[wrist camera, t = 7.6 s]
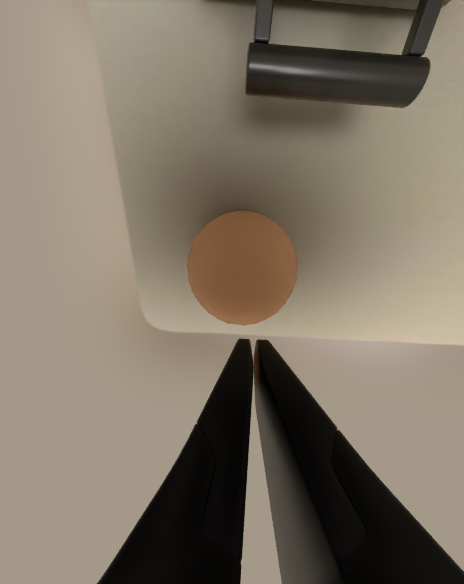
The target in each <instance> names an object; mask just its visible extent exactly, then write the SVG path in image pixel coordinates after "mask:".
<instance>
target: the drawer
mask: <svg viewBox="0 0 464 584" xmlns="http://www.w3.org/2000/svg"><path fill="white" fill-rule="evenodd" d="M313 1H324V2H335V3H346V4H357V5H368V6H379V7H390V8H401V9H413V10H416V13H415V16H414V19H413V22H412V25H411V28H410V31H409V34H408V37H407V40H406V43H405V46H404V49H403V52H402V55H394V54H382V53H371V52H359V51H347V50H336V49H324V48H312V47H300V46H289V45H277V44H269V40H270V32H271V22H272V13H273V3H274V0H257V2H256V14H255V27H254V40H253V42H251V43H249V45H248V53H247V65H246V79H245V95H247V96H259V97H272V98H284V99H296V100H309V101H321V102H334V103H346V104H359V105H371V106H383V107H396V108H404V107H406V106H408V105H409V104H411V103H412V102H413V101H414V100H415V98H416V97H417V96H418V94H419V93H420V91H421V90H422V88H423V86H424V84H425V82H426V80H427V78H428V75H429V71H430V60H429V59H428V58H427V57H420V56H422V55H423V54H424V53H425V50H426V48H427V45H428V42H429V39H430V37H431V34H432V31H433V28H434V26H435V23H436V20H437V17H438V15H439V12H440V9H441V8H442V7H443V6H444V5H446V4H447V3H448V2H449V1H451V0H313Z"/></svg>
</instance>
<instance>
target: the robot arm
mask: <svg viewBox="0 0 464 584" xmlns="http://www.w3.org/2000/svg"><path fill="white" fill-rule="evenodd" d="M253 372H254V384H255V405H256V413H257V420H258V426H259V432H260V440H261V446H262V453H263V459H264V466H265V473H266V479H267V486H268V493H269V499H270V506H271V513H272V520H273V526H274V533H275V540H276V546H277V553H278V560H279V567H280V573H281V580H282V584H464V571H463V570H462V569H461V568H460V567H459V566H458V565H457V564H456V563H455V562H454V560H452V558H451V557H450V556H449V555H448V554H447V553H446V552H445V551H444V550H443V548H442V547H441V546H440V545H439V544H438V543H437V542H436V541H435V540H434V539H433V538H432V536H431V535H430V534H429V533H428V532H427V531H426V530H425V529H424V528H423V526H421V524H420V523H419V522H418V521H417V520H416V519H415V518H414V517H413V516H412V514H411V513H410V512H409V511H408V510H407V509H406V508H405V507H404V506H403V505H402V503H401V502H400V501H399V500H398V499H397V498H396V497H395V496H394V495H393V494H392V492H391V491H390V490H389V489H388V488H387V487H386V486H385V485H384V483H383V482H382V481H381V480H380V479H379V478H378V477H377V476H376V474H375V473H374V472H373V471H372V470H371V469H370V468H369V466H368V465H367V464H366V463H365V461H364V460H363V459H362V458H361V457H360V455H359V454H358V453H357V452H356V451H355V449H354V448H353V447H352V446H351V444H350V443H349V442H348V441H347V439H346V438H345V437H344V436H343V434H342V433H341V432H340V431H339V430H337V427H336V426H335V424H334V423H333V422H332V420H331V419H330V418H329V417H328V415H327V414H326V413H325V412H324V410H323V409H322V408H321V407H320V406H319V404H318V403H317V401H316V400H315V399H314V398H313V397H312V395H311V394H310V393H309V391H308V390H307V389H306V387H305V386H304V385H303V384H302V382H301V381H300V380H299V379H298V377H297V376H296V375H295V373H294V372H293V371H292V370H291V368H290V367H289V366H288V365H287V363H286V362H285V361H284V360H283V358H282V357H281V356H280V354H279V353H278V352H277V351H276V349H275V348H274V347H273V346H272V344H271V343H270V342H269V341H268V340H257V341H256V346H255V353H254V367H253V358H252V351H251V343H250V340H249V339H238V341H237V343H236V345H235V347H234V349H233V351H232V353H231V355H230V357H229V359H228V361H227V363H226V365H225V367H224V369H223V371H222V373H221V375H220V377H219V379H218V381H217V383H216V385H215V387H214V389H213V391H212V393H211V395H210V397H209V399H208V401H207V403H206V405H205V407H204V409H203V411H202V413H201V415H200V417H199V419H198V421H197V424H196V425H195V426H194V428H193V430H192V432H191V434H190V436H189V438H188V440H187V442H186V444H185V446H184V447H183V449H182V451H181V453H180V455H179V457H178V459H177V460H176V462H175V464H174V465H173V467H172V469H171V470H170V472H169V474H168V475H167V477H166V479H165V480H164V482H163V484H162V485H161V487H160V488H159V490H158V491H157V493H156V494H155V496H154V498H153V499H152V501H151V502H150V504H149V505H148V507H147V508H146V510H145V511H144V513H143V515H142V516H141V518H140V519H139V521H138V522H137V524H136V525H135V527H134V529H133V530H132V532H131V533H130V535H129V536H128V538H127V540H126V541H125V543H124V544H123V546H122V548H121V549H120V550H119V552H118V553H117V555H116V557H115V558H114V560H113V561H112V563H111V564H110V566H109V567H108V569H107V570H106V572H105V573H104V575H103V576H102V577H101V579H100V580H99V582H98V583H97V584H240V579H241V559H242V547H243V531H244V515H245V499H246V484H247V467H248V452H249V436H250V420H251V419H250V418H251V404H252V387H253Z"/></svg>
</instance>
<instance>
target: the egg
mask: <svg viewBox="0 0 464 584" xmlns="http://www.w3.org/2000/svg"><path fill="white" fill-rule="evenodd" d="M188 277H189V283H190V286H191V289H192V291H193V293H194V295H195V297H196V298H197V300H198V302H199V303H200V304H201V305H202V306H203V307H204V308H205V309H206V310H207V311H208V313H210V314H211V315H213V316H214V317H216V318H218V319H219V320H222V321H224V322H226V323H230V324H237V325H250V324H256V323H258V322H261V321H263V320H266V319H267V318H269V317H271V316H272V315H274V314H275V313H277V312H278V311H279V309H280V308H281V307H282V306H283V305H284V304H285V303H286V301H287V299H288V298H289V296H290V294H291V292H292V290H293V288H294V285H295V282H296V278H297V259H296V252H295V250H294V247H293V245H292V243H291V241H290V239H289V238H288V236H287V234H286V233H285V232H284V230H283V229H282V228H281V226H280V225H278V224H277V223H276V222H274V221H273V220H272V219H270V218H268V217H266V216H264V215H262V214H260V213H256V212H252V211H235V212H231V213H226V214H223V215H221V216H219V217H217V218H215V219H214V220H212V221H210V222H209V223H208V224H207V225H206V226H205V227H204V228H203V229H202V230H201V231H200V232H199V233H198V235H197V237H196V238H195V240H194V242H193V244H192V247H191V250H190V253H189V256H188Z"/></svg>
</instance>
